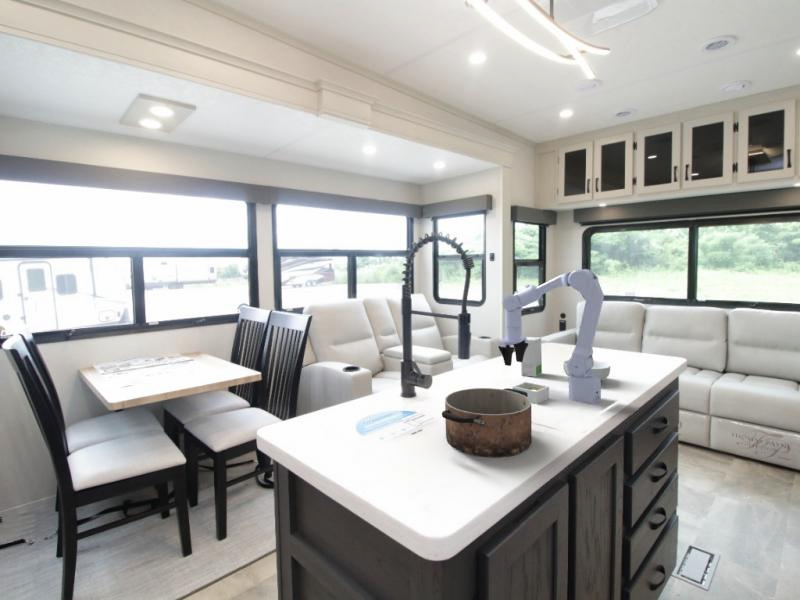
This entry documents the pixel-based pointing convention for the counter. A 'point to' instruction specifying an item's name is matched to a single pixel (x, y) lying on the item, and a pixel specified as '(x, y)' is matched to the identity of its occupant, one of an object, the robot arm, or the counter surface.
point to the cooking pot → (488, 421)
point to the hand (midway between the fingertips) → (513, 363)
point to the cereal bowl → (595, 369)
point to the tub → (534, 395)
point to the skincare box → (532, 358)
